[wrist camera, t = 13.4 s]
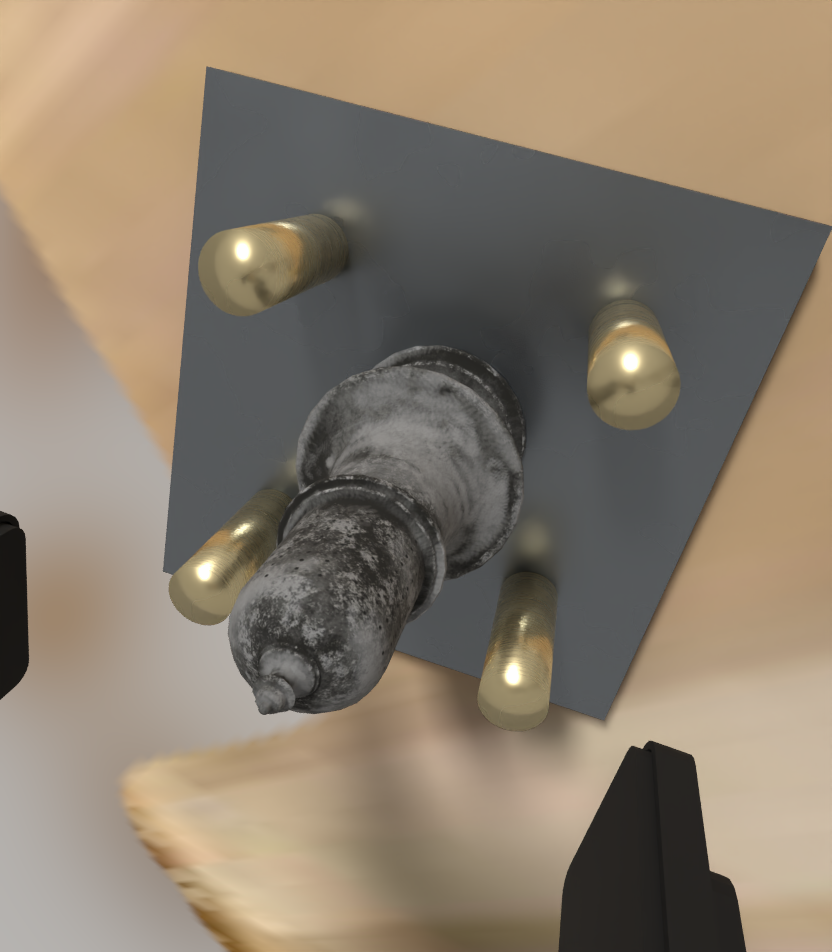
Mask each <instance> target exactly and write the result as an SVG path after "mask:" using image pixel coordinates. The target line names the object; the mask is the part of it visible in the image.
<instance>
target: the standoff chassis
mask: <svg viewBox="0 0 832 952" xmlns="http://www.w3.org/2000/svg"><path fill="white" fill-rule="evenodd" d="M831 230H832V226H829V225H825V224H822V223H818V222H814V221H810V220H806V219H802V218H798V217H795V216H791V215H787V214H783V213H779V212H775V211H771V210H767V209H763V208H759V207H755V206H752V205H748V204H744V203H740V202H736V201H732V200H728V199H724V198H720V197H716V196H712V195H709V194H705V193H701V192H697V191H693V190H689V189H685V188H681V187H677V186H673V185H669V184H666V183H662V182H658V181H654V180H650V179H646V178H642V177H638V176H634V175H630V174H626V173H623V172H619V171H615V170H611V169H607V168H603V167H599V166H595V165H591V164H587V163H584V162H580V161H576V160H572V159H568V158H564V157H560V156H556V155H552V154H548V153H544V152H541V151H537V150H533V149H529V148H525V147H521V146H517V145H513V144H509V143H505V142H501V141H498V140H494V139H490V138H486V137H482V136H478V135H474V134H470V133H466V132H462V131H458V130H455V129H451V128H447V127H443V126H439V125H435V124H431V123H427V122H423V121H419V120H415V119H412V118H408V117H404V116H400V115H396V114H392V113H388V112H384V111H380V110H376V109H372V108H369V107H365V106H361V105H357V104H353V103H349V102H345V101H341V100H337V99H333V98H329V97H326V96H322V95H318V94H314V93H310V92H306V91H302V90H298V89H294V88H290V87H286V86H283V85H279V84H275V83H271V82H267V81H263V80H259V79H255V78H251V77H247V76H243V75H240V74H236V73H232V72H228V71H224V70H220V69H216V68H211V67H206V79H205V90H204V102H203V114H202V125H201V137H200V149H199V160H198V172H197V183H196V195H195V207H194V218H193V230H192V241H191V253H190V265H189V276H188V288H187V299H186V311H185V323H184V334H183V346H182V358H181V369H180V381H179V392H178V404H177V416H176V427H175V439H174V450H173V462H172V474H171V485H170V498H169V510H168V521H167V532H166V544H165V555H164V567H163V572H166V573H169V574H172V575H173V576H172V578H171V580H170V582H169V595H170V598H171V600H172V603H173V604H174V606H175V607H176V609H177V610H178V611H179V612H180V613H181V614H182V615H183V616H184V617H186V618H187V619H189V620H191V621H192V622H195V623H198V624H201V625H215V624H218V623H220V622H222V621H224V620H225V619H226V618H227V616H228V615H229V614H230V613H231V611H232V609H233V607H234V604H235V602H236V600H237V597H238V595H239V593H240V591H241V589H242V588H243V587H244V585H245V584H246V583H247V582H248V581H249V580H250V578H251V577H252V576H253V575H254V574H255V573H256V571H257V570H258V569H259V568H260V567H261V565H262V564H263V563H264V562H265V561H266V560H267V558H268V557H269V556H270V555H271V554H272V553H273V551H274V550H275V549H276V548H277V546H276V541H277V532H278V525H279V522H280V520H281V518H282V516H283V513H284V511H285V509H286V507H287V506H288V505H289V503H290V502H291V501H292V500H293V499H294V498H295V497H296V496H297V494H298V493H299V486H298V479H297V473H296V466H295V465H296V456H297V448H298V439H299V436H300V434H301V432H302V429H303V427H304V425H305V422H306V420H307V417H308V415H309V413H310V412H311V411H312V410H313V408H314V407H315V406H316V405H317V404H318V402H319V401H320V400H321V399H322V398H323V396H324V395H325V394H326V393H327V392H328V391H329V390H331V389H332V388H334V387H335V386H337V385H338V384H340V383H342V382H343V381H345V380H346V379H348V378H349V377H351V376H352V375H356V374H359V373H362V372H365V371H369V370H372V369H373V368H374V367H375V366H376V365H377V364H378V363H380V362H382V361H383V360H385V359H386V358H388V357H389V356H391V355H392V354H394V353H396V352H399V351H402V350H405V349H409V348H412V347H415V346H431V345H442V346H447V347H451V348H455V349H459V350H463V351H466V352H468V353H470V354H472V355H474V356H476V357H477V358H479V359H481V360H483V361H485V362H487V363H488V364H489V365H490V366H491V367H492V368H493V369H494V370H496V371H497V372H498V373H499V374H500V375H501V376H502V377H503V378H504V379H505V380H506V381H507V383H508V385H509V386H510V388H511V389H512V391H513V392H514V394H515V396H516V397H517V399H518V401H519V404H520V407H521V410H522V414H523V417H524V420H525V430H526V447H525V451H524V455H523V458H522V465H523V474H524V499H523V503H522V507H521V510H520V514H519V518H518V521H517V525H516V527H515V529H514V530H513V532H512V533H511V535H510V537H509V538H508V540H507V541H506V543H505V545H504V546H503V548H502V549H501V550H500V551H499V552H498V553H497V554H495V555H494V556H493V557H492V558H491V559H490V560H489V561H487V562H486V563H485V564H484V565H483V566H482V567H480V568H478V569H476V570H474V571H471V572H469V573H467V574H465V575H463V576H461V577H459V578H456V579H451V580H446V581H444V583H443V587H442V590H441V592H440V593H439V595H438V596H437V598H436V600H435V601H434V603H433V605H432V606H431V607H430V608H429V609H428V610H427V611H426V612H425V613H424V614H422V615H421V616H420V617H419V618H418V619H417V620H415V621H412V622H410V623H408V624H406V625H405V627H404V630H403V632H402V634H401V636H400V639H399V641H398V643H397V646H396V648H395V650H397V651H400V652H403V653H406V654H409V655H412V656H415V657H418V658H421V659H424V660H427V661H430V662H433V663H436V664H438V665H441V666H444V667H447V668H450V669H453V670H456V671H459V672H462V673H465V674H468V675H471V676H474V677H477V678H480V679H481V681H480V686H479V691H478V696H477V702H478V706H479V709H480V711H481V712H482V714H483V715H484V717H485V718H486V719H487V720H489V721H490V722H491V723H492V724H494V725H496V726H498V727H500V728H502V729H506V730H510V731H526V730H530V729H532V728H535V727H536V726H538V725H539V724H541V723H542V722H543V721H544V719H545V718H546V716H547V714H548V710H549V702H551V703H554V704H557V705H560V706H563V707H566V708H569V709H572V710H575V711H578V712H581V713H583V714H586V715H589V716H592V717H595V718H598V719H601V720H604V719H605V717H606V715H607V713H608V711H609V709H610V707H611V704H612V702H613V700H614V698H615V696H616V694H617V691H618V689H619V687H620V685H621V683H622V681H623V678H624V676H625V674H626V672H627V670H628V668H629V666H630V663H631V661H632V659H633V657H634V655H635V653H636V650H637V648H638V646H639V644H640V642H641V640H642V637H643V635H644V633H645V631H646V629H647V627H648V625H649V622H650V620H651V618H652V616H653V614H654V612H655V609H656V607H657V605H658V603H659V601H660V599H661V596H662V594H663V592H664V590H665V588H666V586H667V584H668V581H669V579H670V577H671V575H672V573H673V571H674V568H675V566H676V564H677V562H678V560H679V558H680V555H681V553H682V551H683V549H684V547H685V545H686V543H687V540H688V538H689V536H690V534H691V532H692V530H693V527H694V525H695V523H696V521H697V519H698V517H699V514H700V512H701V510H702V508H703V506H704V504H705V502H706V499H707V497H708V495H709V493H710V491H711V489H712V486H713V484H714V482H715V480H716V478H717V476H718V473H719V471H720V469H721V467H722V465H723V463H724V461H725V458H726V456H727V454H728V452H729V450H730V448H731V445H732V443H733V441H734V439H735V437H736V435H737V432H738V430H739V428H740V426H741V424H742V422H743V420H744V417H745V415H746V413H747V411H748V409H749V407H750V404H751V402H752V400H753V398H754V396H755V394H756V391H757V389H758V387H759V385H760V383H761V381H762V379H763V376H764V374H765V372H766V370H767V368H768V366H769V363H770V361H771V359H772V357H773V355H774V353H775V350H776V348H777V346H778V344H779V342H780V340H781V338H782V335H783V333H784V331H785V329H786V327H787V325H788V322H789V320H790V318H791V316H792V314H793V312H794V309H795V307H796V305H797V303H798V301H799V299H800V297H801V294H802V292H803V290H804V288H805V286H806V284H807V281H808V279H809V277H810V275H811V273H812V271H813V268H814V266H815V264H816V262H817V260H818V258H819V256H820V253H821V251H822V249H823V247H824V245H825V243H826V240H827V238H828V236H829V234H830V232H831Z"/></svg>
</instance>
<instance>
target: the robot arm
mask: <svg viewBox="0 0 832 952" xmlns="http://www.w3.org/2000/svg"><path fill="white" fill-rule="evenodd" d="M27 612H28V611H27V575H26V538H25V533H24V531H23V530H22V529H20V528H19V522H18V521H17V519H16V518H15V517H14V516H12V515H10V514H7V513H4V512H2V511H0V700H1V699H2V698H3V697H4V696H5V695H6V694H7V693H8V692H10V691H11V690H12V689H13V688H14V687H15V686H16V685H17V684H18V683H19V682H20V681H21V679H22V678H23V676H24V674H25V672H26V671H27V667H28V663H29V646H28V613H27ZM559 952H746V947H745V941H744V935H743V929H742V923H741V917H740V911H739V905H738V900H737V896H736V892H735V888H734V886H733V884H732V883H731V881H730V879H729V878H727V877H725V876H722V875H720V874H717V873H714V872H712V871H710V869H709V862H708V854H707V847H706V839H705V832H704V824H703V817H702V810H701V802H700V795H699V787H698V780H697V772H696V765H695V761H694V758H693V756H692V755H690V754H688V753H685V752H682V751H679V750H676V749H673V748H671V747H668V746H665V745H662V744H659V743H656V742H654V741H649V742H647V743H646V744H645V746H644V748H643V749H641V748H638V747H635V746H631V747H630V748H629V750H628V751H627V753H626V755H625V757H624V759H623V761H622V763H621V765H620V767H619V769H618V771H617V773H616V775H615V777H614V779H613V781H612V783H611V785H610V787H609V789H608V791H607V793H606V795H605V797H604V799H603V801H602V803H601V805H600V807H599V809H598V811H597V813H596V815H595V817H594V819H593V821H592V823H591V825H590V827H589V829H588V831H587V833H586V835H585V837H584V839H583V841H582V843H581V845H580V847H579V849H578V851H577V853H576V855H575V857H574V858H573V860H572V862H571V864H570V867H569V869H568V872H567V875H566V878H565V883H564V888H563V895H562V909H561V923H560V938H559Z"/></svg>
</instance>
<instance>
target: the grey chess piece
mask: <svg viewBox="0 0 832 952" xmlns="http://www.w3.org/2000/svg"><path fill="white" fill-rule="evenodd" d="M525 447H526V430H525V420H524V417H523V414H522V410H521V407H520V404H519V401H518V399H517V397H516V396H515V394H514V392H513V391H512V389H511V388H510V386H509V385H508V383H507V381H506V380H505V379H504V378H503V377H502V376H501V375H500V374H499V373H498V372H497V371H496V370H494V369H493V368H492V367H491V366H490V365H489V364H488V363H487V362H485V361H483V360H481V359H479V358H477V357H476V356H474V355H472V354H470V353H468V352H466V351H463V350H459V349H455V348H451V347H447V346H442V345H431V346H415V347H412V348H409V349H405V350H402V351H399V352H396V353H394V354H392V355H391V356H389V357H388V358H386V359H385V360H383V361H382V362H380V363H378V364H377V365H376V366H375V367H374V368H373V369H372V370H369V371H365V372H362V373H359V374H356V375H352V376H351V377H349V378H348V379H346V380H345V381H343V382H342V383H340V384H338V385H337V386H335V387H334V388H332V389H331V390H329V391H328V392H327V393H326V394H325V395H324V396H323V398H322V399H321V400H320V401H319V402H318V404H317V405H316V406H315V407H314V408H313V410H312V411H311V412H310V413H309V415H308V417H307V420H306V422H305V425H304V427H303V429H302V432H301V434H300V436H299V439H298V448H297V456H296V465H295V466H296V473H297V479H298V486H299V493H298V494H297V496H296V497H295V498H294V499H293V500H292V501H291V502H290V503H289V505H288V506H287V507H286V509H285V511H284V513H283V516H282V518H281V520H280V522H279V525H278V532H277V541H276V546H277V548H276V549H275V550H274V551H273V553H272V554H271V555H270V556H269V557H268V558H267V560H266V561H265V562H264V563H263V564H262V565H261V567H260V568H259V569H258V570H257V571H256V573H255V574H254V575H253V576H252V577H251V578H250V580H249V581H248V582H247V583H246V584H245V585H244V587H243V588H242V589H241V591H240V593H239V595H238V597H237V600H236V602H235V604H234V607H233V609H232V611H231V614H230V616H229V626H228V636H229V641H230V646H231V651H232V655H233V658H234V661H235V663H236V665H237V667H238V669H239V671H240V674H241V675H242V676H243V678H244V679H245V680H246V681H247V682H248V684H249V685H250V686H251V687H252V688H253V694H254V696H255V698H256V700H255V702H256V704H257V706H258V708H259V709H258V710H259V712H260V713H261V714H263V715H266V714H274V713H278V712H284V711H288V710H292V711H295V712H299V713H310V714H317V713H325V712H331V711H336V710H341V709H343V708H346V707H348V706H351V705H353V704H355V703H357V702H359V701H360V700H361V699H362V698H363V697H364V696H366V695H367V694H368V693H369V692H370V691H371V690H372V689H373V688H374V687H375V686H376V684H377V683H378V682H379V680H380V679H381V677H382V675H383V674H384V672H385V670H386V669H387V667H388V664H389V662H390V660H391V657H392V655H393V653H394V650H395V648H396V646H397V643H398V641H399V639H400V636H401V634H402V632H403V630H404V627H405V625H406V624H408V623H410V622H412V621H415V620H417V619H418V618H419V617H420V616H421V615H422V614H424V613H425V612H426V611H427V610H428V609H429V608H430V607H431V606H432V605H433V603H434V601H435V600H436V598H437V596H438V595H439V593H440V592H441V590H442V587H443V583H444V581H446V580H451V579H456V578H459V577H461V576H463V575H465V574H467V573H469V572H471V571H474V570H476V569H478V568H480V567H482V566H483V565H484V564H485V563H486V562H487V561H489V560H490V559H491V558H492V557H493V556H494V555H495V554H497V553H498V552H499V551H500V550H501V549H502V548H503V546H504V545H505V543H506V541H507V540H508V538H509V537H510V535H511V533H512V532H513V530H514V529H515V527H516V525H517V521H518V518H519V514H520V510H521V507H522V503H523V499H524V474H523V465H522V458H523V455H524V451H525Z"/></svg>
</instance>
